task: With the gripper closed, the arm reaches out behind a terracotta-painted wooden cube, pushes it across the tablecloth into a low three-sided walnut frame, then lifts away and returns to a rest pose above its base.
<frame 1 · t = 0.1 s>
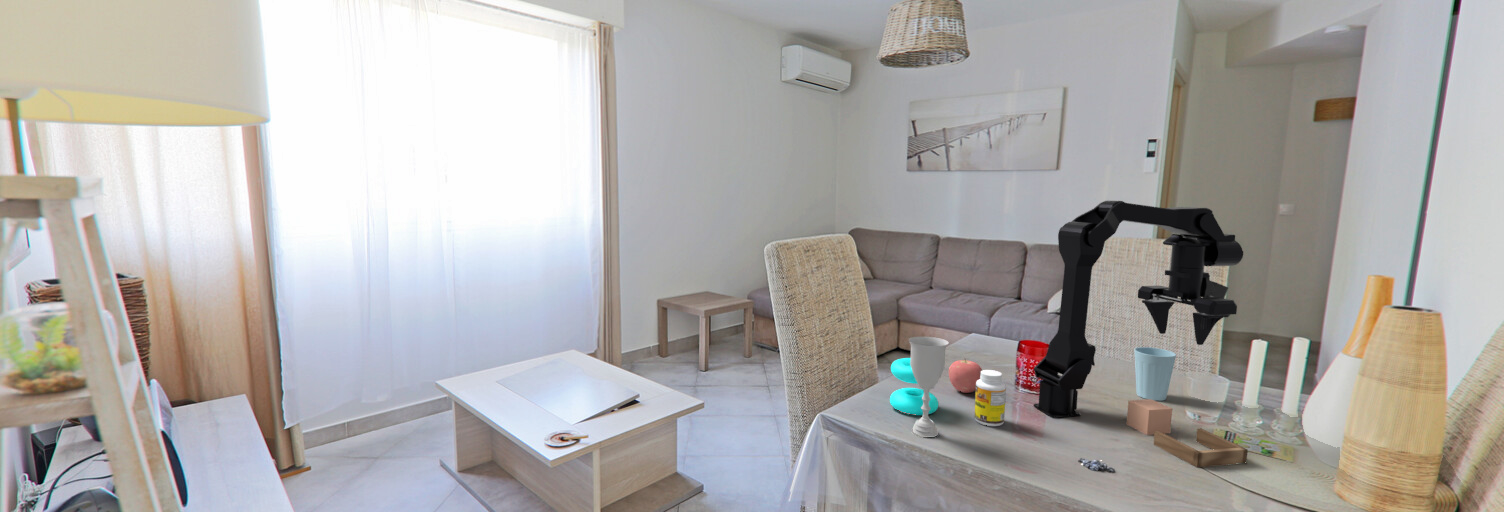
hand: (1180, 338, 124), 15 cm above the table, tool pointing down, fingers open, 9 cm apart
frame: (1196, 452, 103), on the table
apple: (964, 392, 134), on the table
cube: (1147, 429, 113), on the table
metal chain: (1097, 469, 98), on the table
cup: (1151, 397, 130), on the table
supplement bottle: (988, 422, 116), on the table
chalice: (924, 433, 111), on the table
donuts: (913, 409, 123), on the table
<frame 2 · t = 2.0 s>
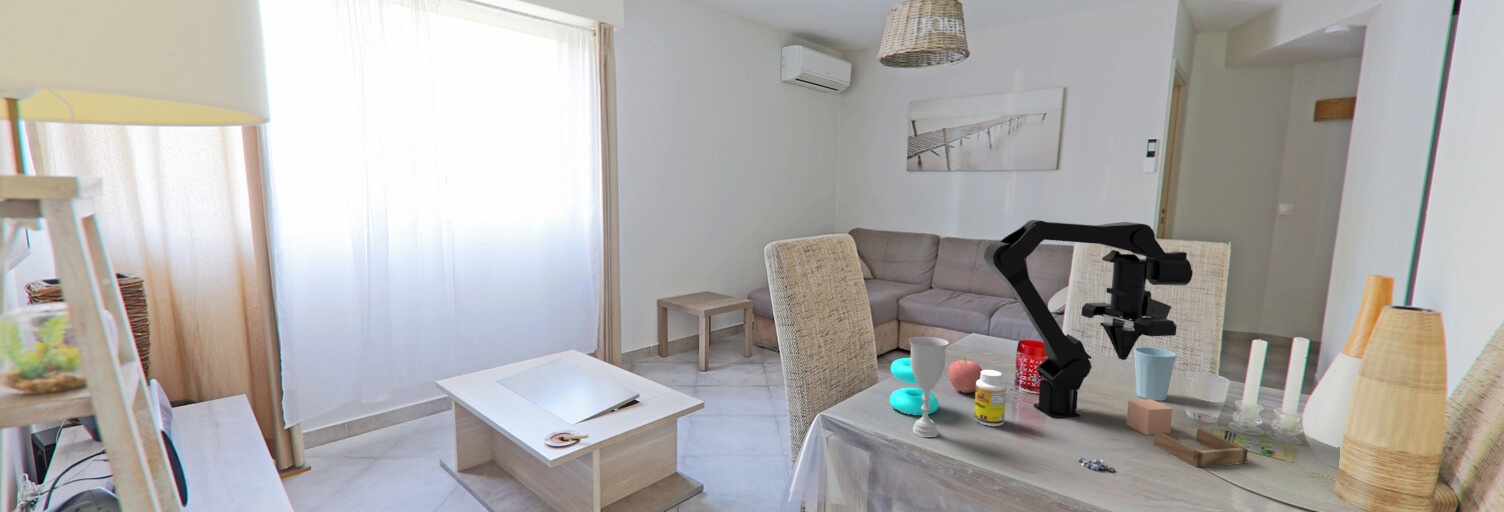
hand: (1122, 359, 119), 12 cm above the table, tool pointing down, fingers closed
nothing on the table moved.
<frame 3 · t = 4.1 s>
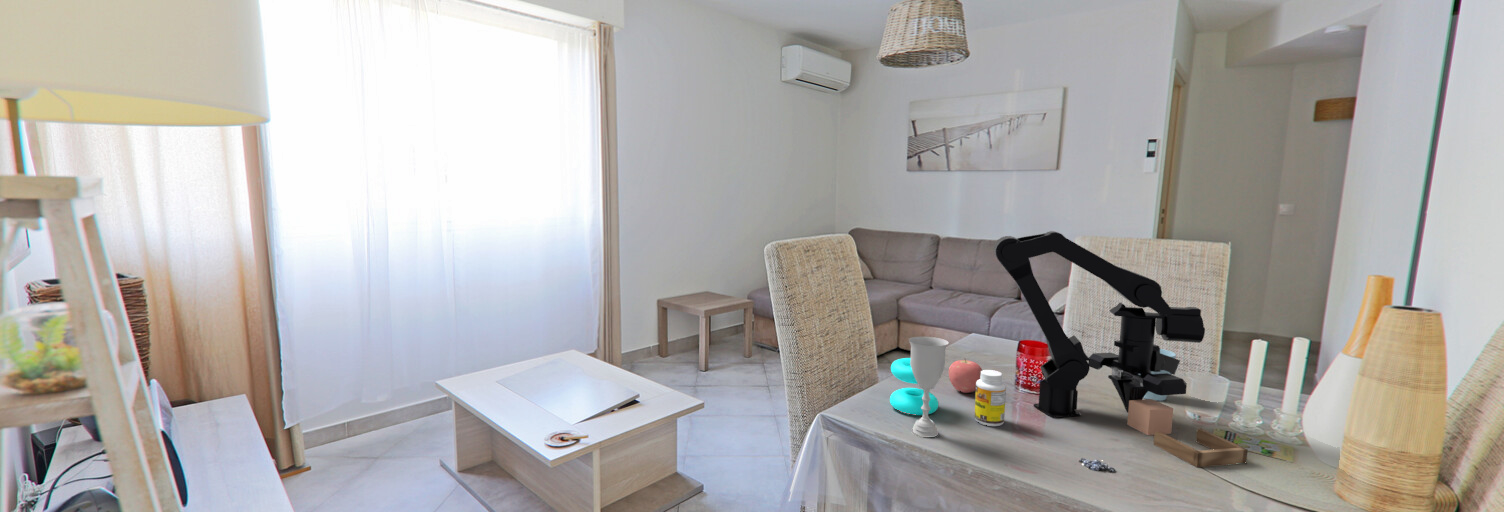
hand: (1130, 413, 117), 1 cm above the table, tool pointing down, fingers closed
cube: (1148, 428, 113), on the table, touching gripper
everything else where it was.
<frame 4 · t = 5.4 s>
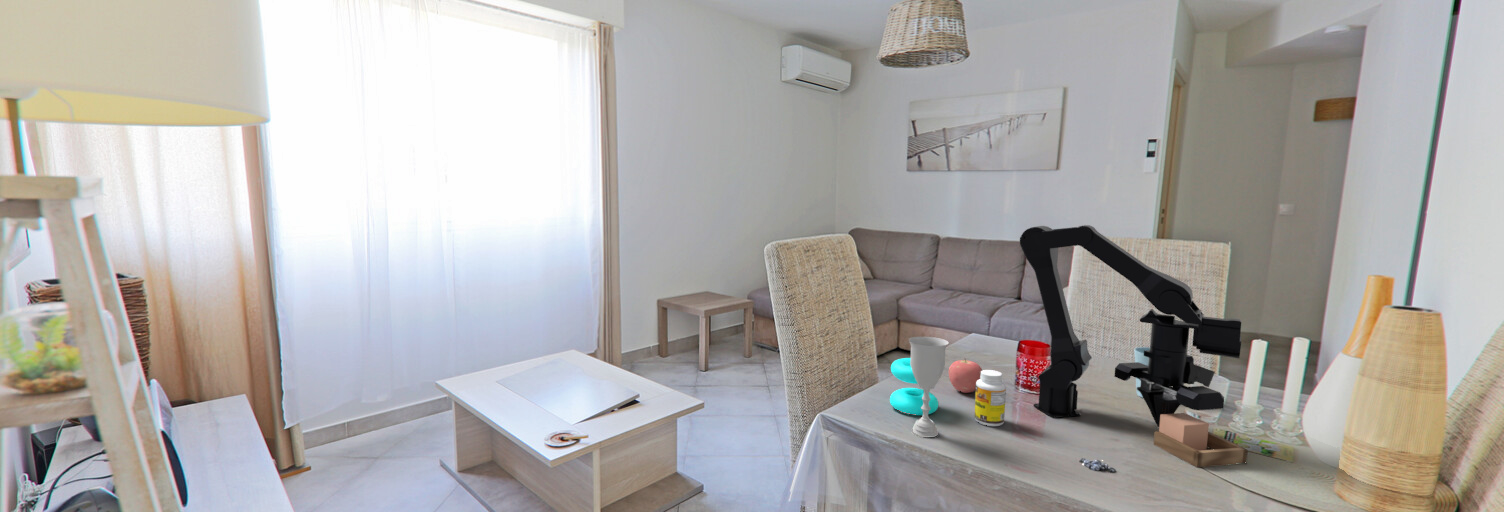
hand: (1161, 428, 110), 1 cm above the table, tool pointing down, fingers closed
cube: (1181, 445, 106), on the table, touching gripper
everything else where it was.
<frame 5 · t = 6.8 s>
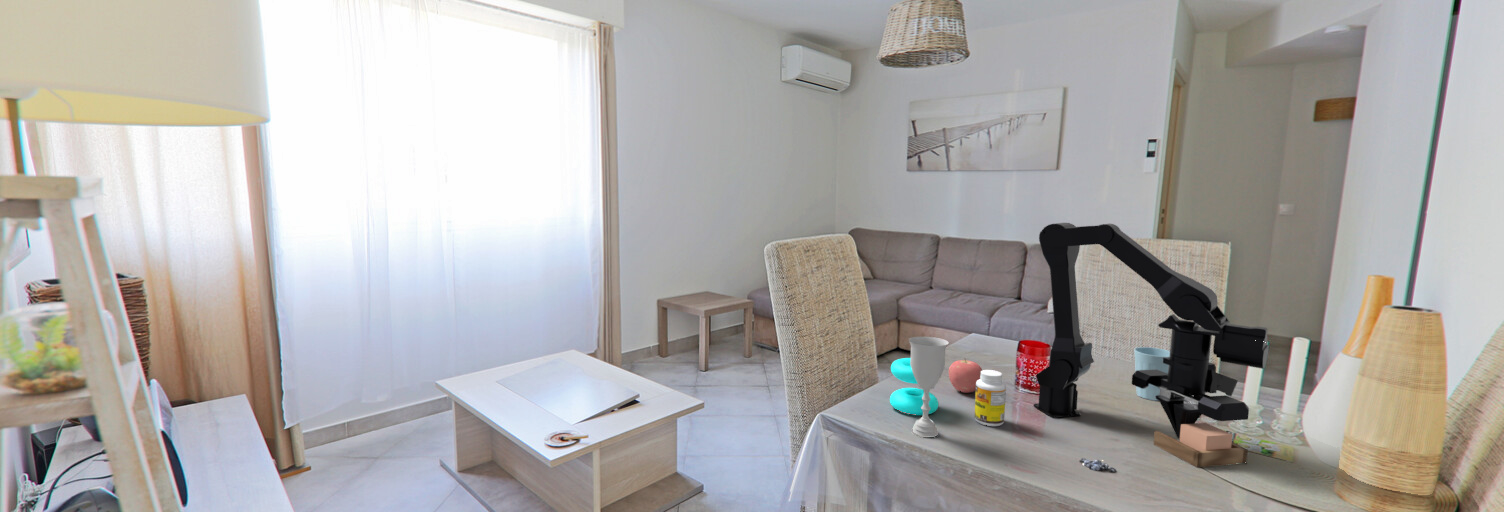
hand: (1181, 438, 106), 1 cm above the table, tool pointing down, fingers closed
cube: (1203, 456, 101), on the table, touching frame, gripper
everything else where it was.
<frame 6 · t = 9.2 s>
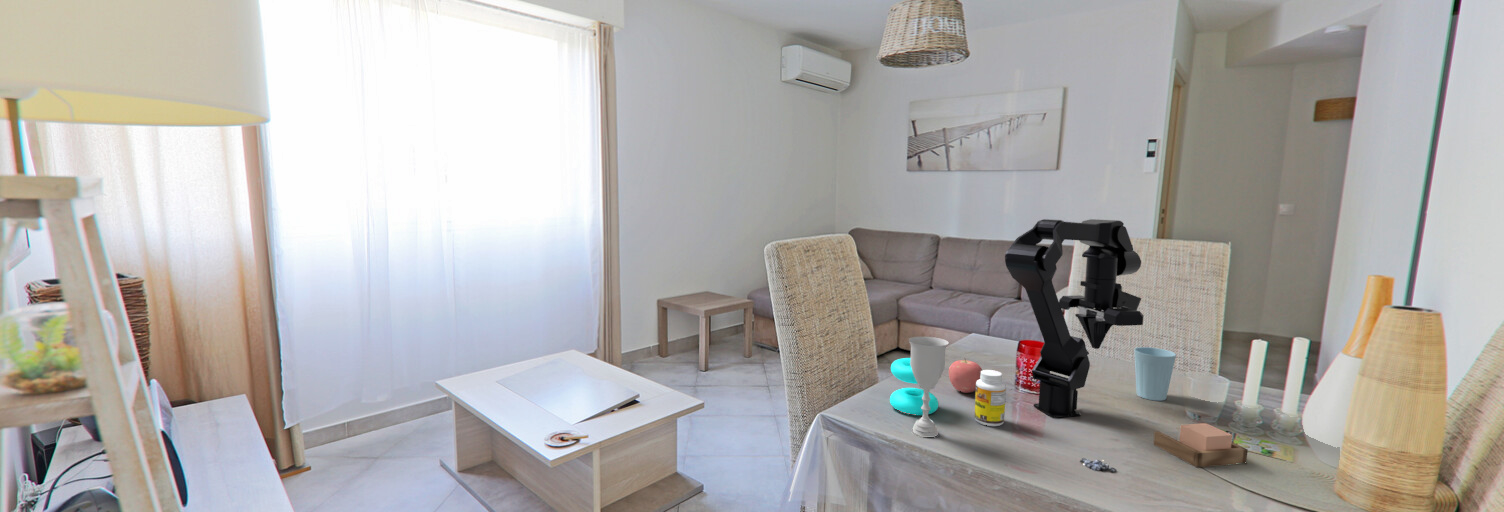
hand: (1095, 348, 127), 12 cm above the table, tool pointing down, fingers closed
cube: (1203, 457, 101), on the table
everything else where it was.
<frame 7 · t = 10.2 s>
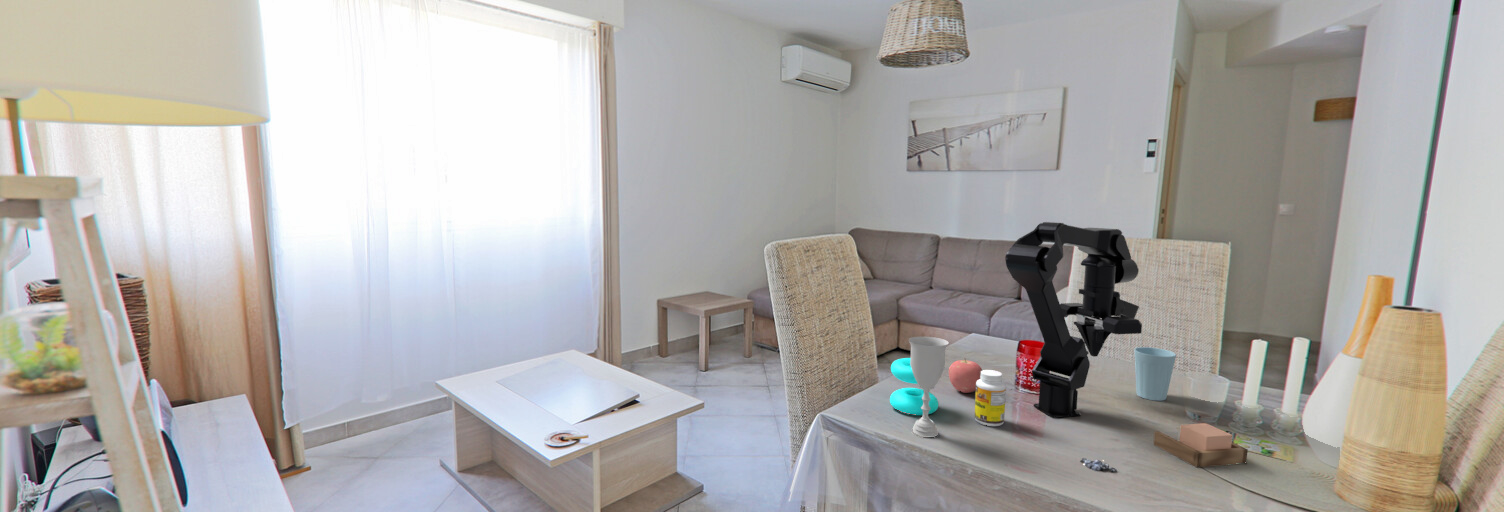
hand: (1093, 356, 127), 10 cm above the table, tool pointing down, fingers closed
nothing on the table moved.
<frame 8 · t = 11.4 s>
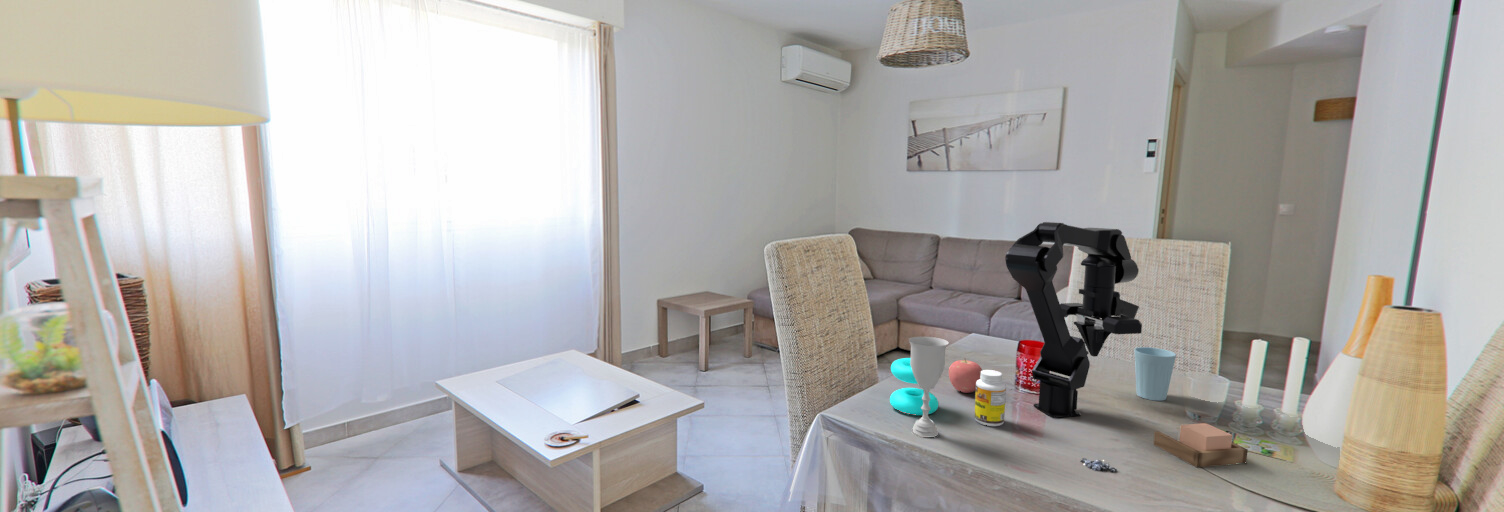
hand: (1093, 356, 127), 10 cm above the table, tool pointing down, fingers closed
nothing on the table moved.
at the end: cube 1.1 cm off-centre on the frame, point 0.0 cm above the frame's base; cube tilted 0°; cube moved 12.0 cm from its start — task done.
